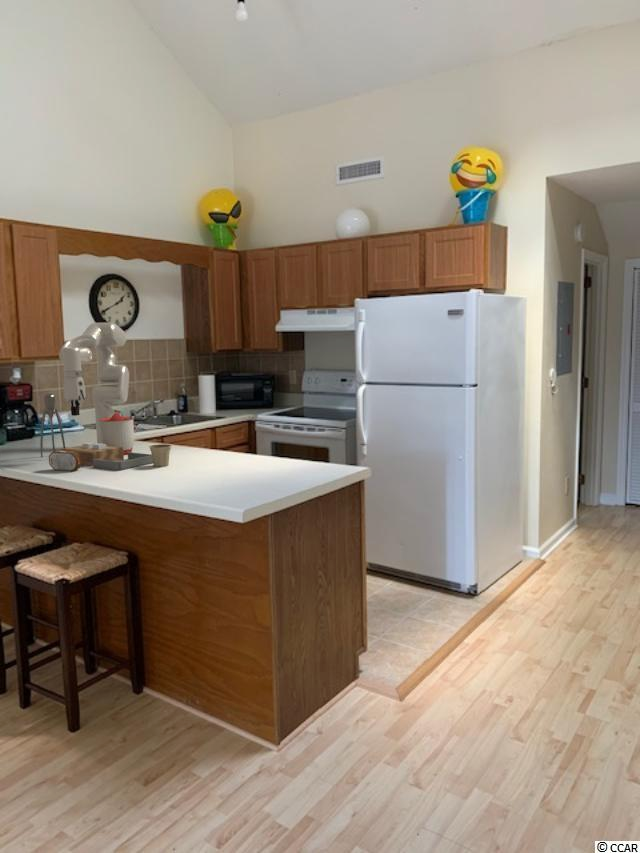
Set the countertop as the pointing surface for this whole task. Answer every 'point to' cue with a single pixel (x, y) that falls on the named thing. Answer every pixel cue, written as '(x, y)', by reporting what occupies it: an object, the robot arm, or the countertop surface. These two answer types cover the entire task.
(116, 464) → the tray
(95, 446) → the tile
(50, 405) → the juicer
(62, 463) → the tin
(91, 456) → the board
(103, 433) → the citrus juicer
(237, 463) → the countertop surface
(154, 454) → the flower pot
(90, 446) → the tile
